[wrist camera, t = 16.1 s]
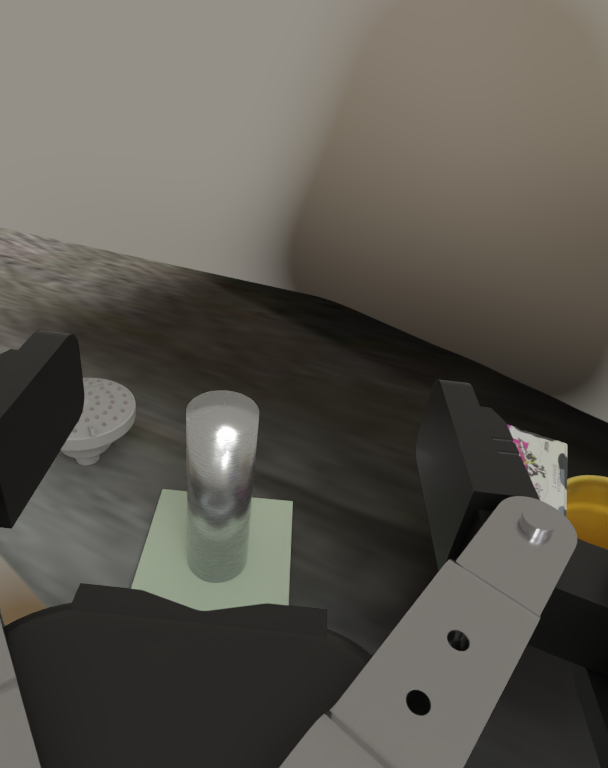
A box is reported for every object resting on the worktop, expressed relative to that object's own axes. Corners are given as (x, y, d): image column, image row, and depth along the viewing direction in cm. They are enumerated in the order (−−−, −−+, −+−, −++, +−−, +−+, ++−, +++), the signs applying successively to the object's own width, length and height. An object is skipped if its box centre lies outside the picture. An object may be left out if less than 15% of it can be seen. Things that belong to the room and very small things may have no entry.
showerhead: (31, 445, 44) (15, 378, 51) (43, 509, 48) (27, 439, 55) (149, 419, 48) (120, 361, 55) (152, 480, 52) (124, 419, 59)
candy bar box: (437, 569, 48) (496, 418, 39) (496, 592, 46) (571, 441, 37) (407, 688, 39) (475, 527, 30) (479, 721, 37) (572, 564, 28)
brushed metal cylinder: (249, 537, 47) (261, 394, 39) (243, 585, 43) (255, 437, 35) (193, 532, 47) (193, 387, 39) (182, 580, 43) (179, 430, 35)
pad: (292, 505, 52) (292, 501, 52) (287, 622, 42) (287, 618, 42) (162, 493, 51) (162, 489, 51) (126, 608, 41) (125, 605, 41)
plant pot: (510, 633, 43) (557, 550, 38) (511, 537, 52) (549, 458, 46) (652, 683, 41) (723, 603, 36) (629, 575, 50) (683, 496, 44)
